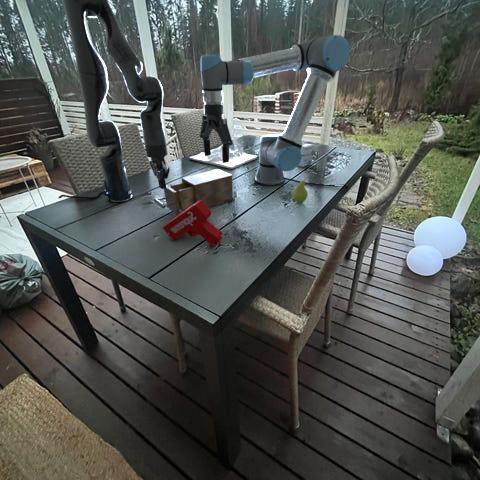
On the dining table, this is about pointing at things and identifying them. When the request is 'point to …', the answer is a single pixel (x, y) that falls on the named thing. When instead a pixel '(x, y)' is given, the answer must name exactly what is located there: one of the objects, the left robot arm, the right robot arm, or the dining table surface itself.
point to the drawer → (178, 197)
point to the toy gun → (194, 224)
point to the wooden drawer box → (211, 187)
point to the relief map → (216, 157)
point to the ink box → (306, 154)
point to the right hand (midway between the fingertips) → (216, 158)
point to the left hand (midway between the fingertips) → (162, 188)
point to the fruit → (300, 192)
